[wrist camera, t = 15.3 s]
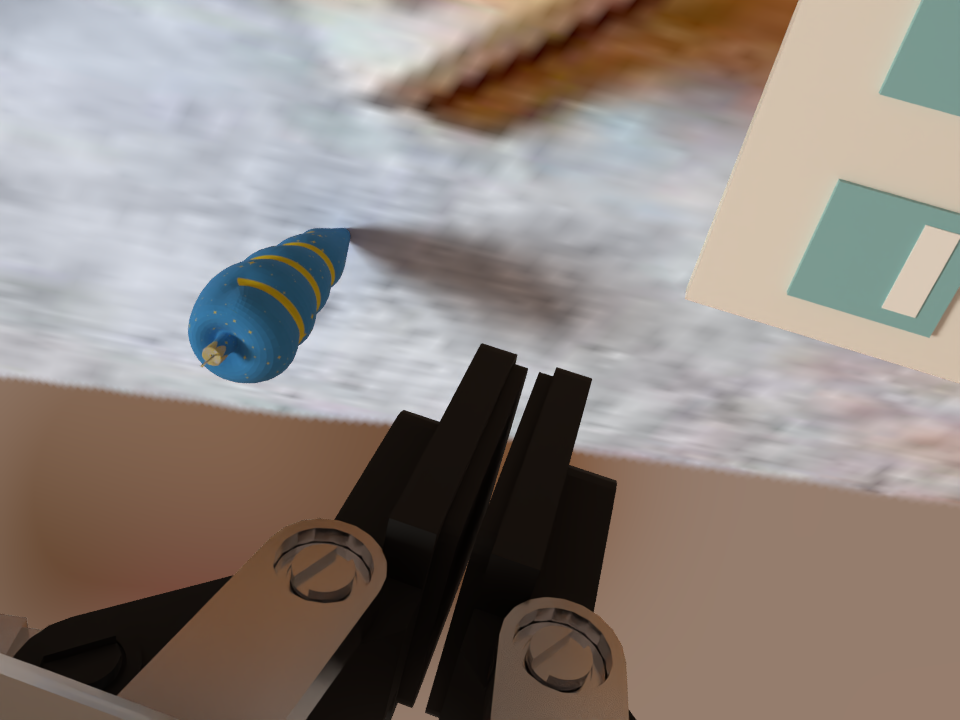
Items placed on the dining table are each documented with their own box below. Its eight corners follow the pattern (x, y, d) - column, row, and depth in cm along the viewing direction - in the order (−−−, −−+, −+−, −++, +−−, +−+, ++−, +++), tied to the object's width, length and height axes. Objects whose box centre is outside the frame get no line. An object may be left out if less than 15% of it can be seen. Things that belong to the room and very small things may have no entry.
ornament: (404, 243, 48) (287, 377, 35) (346, 293, 50) (217, 435, 38) (339, 172, 47) (194, 284, 34) (283, 227, 49) (129, 350, 36)
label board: (900, -262, 32) (908, -269, 31) (1347, -159, 30) (1377, -161, 29) (686, 289, 45) (684, 303, 43) (992, 383, 43) (1001, 400, 42)
